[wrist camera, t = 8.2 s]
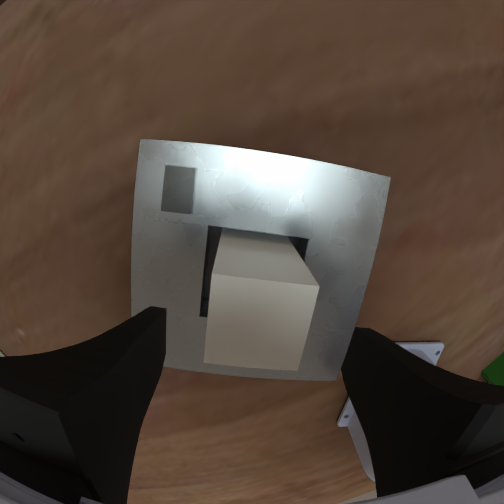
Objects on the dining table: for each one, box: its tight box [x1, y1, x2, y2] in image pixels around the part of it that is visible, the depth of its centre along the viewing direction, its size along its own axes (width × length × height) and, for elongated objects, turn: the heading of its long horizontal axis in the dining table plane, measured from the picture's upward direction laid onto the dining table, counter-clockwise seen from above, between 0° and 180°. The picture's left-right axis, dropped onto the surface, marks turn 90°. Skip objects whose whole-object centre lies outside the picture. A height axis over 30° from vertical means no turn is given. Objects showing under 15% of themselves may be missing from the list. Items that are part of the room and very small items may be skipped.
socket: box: [131, 139, 391, 381], centre depth 18 cm, size 14×14×3 cm
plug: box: [204, 228, 320, 371], centre depth 15 cm, size 4×4×8 cm
